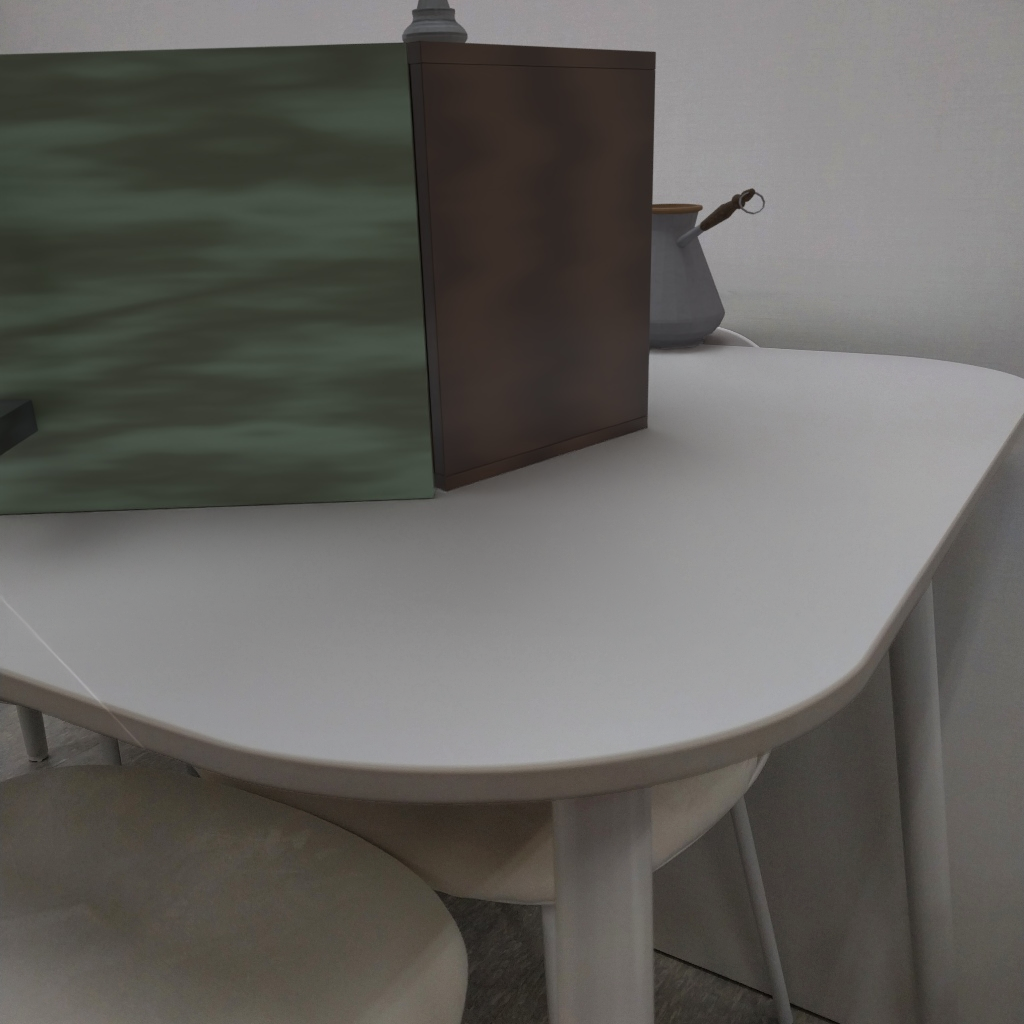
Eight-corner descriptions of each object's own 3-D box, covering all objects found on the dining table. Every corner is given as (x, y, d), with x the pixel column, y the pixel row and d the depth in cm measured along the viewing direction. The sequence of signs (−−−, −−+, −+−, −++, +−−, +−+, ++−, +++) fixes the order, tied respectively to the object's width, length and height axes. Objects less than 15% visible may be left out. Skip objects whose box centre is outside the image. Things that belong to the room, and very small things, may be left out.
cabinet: (446, 493, 57) (420, 40, 48) (238, 413, 75) (192, 74, 66) (647, 429, 68) (656, 51, 59) (424, 373, 86) (405, 78, 77)
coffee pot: (589, 335, 100) (589, 182, 94) (690, 326, 103) (695, 177, 97) (683, 381, 81) (690, 191, 75) (803, 368, 84) (818, 185, 78)
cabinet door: (428, 545, 49) (394, 27, 41) (-88, 565, 49) (-233, 45, 40) (435, 491, 57) (407, 44, 48) (-12, 508, 56) (-120, 60, 48)
